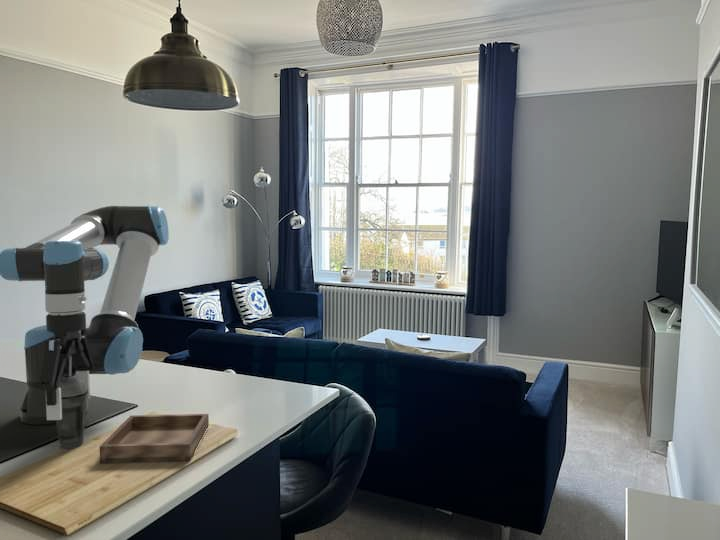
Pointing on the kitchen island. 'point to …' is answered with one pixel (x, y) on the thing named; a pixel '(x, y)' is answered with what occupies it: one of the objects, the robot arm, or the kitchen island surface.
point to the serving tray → (155, 438)
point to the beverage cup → (72, 410)
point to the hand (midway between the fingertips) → (69, 408)
